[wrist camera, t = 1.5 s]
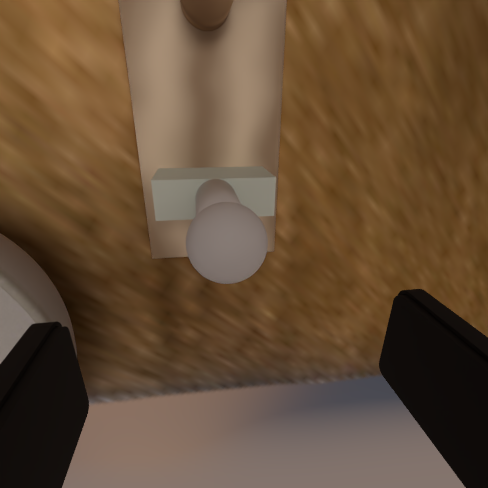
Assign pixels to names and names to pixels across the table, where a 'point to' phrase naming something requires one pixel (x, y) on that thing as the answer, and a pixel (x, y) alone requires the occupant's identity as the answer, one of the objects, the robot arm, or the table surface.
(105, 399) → the table surface
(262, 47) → the base
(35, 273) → the decorative bowl
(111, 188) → the table surface
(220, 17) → the walnut
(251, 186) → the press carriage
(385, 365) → the robot arm
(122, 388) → the table surface
